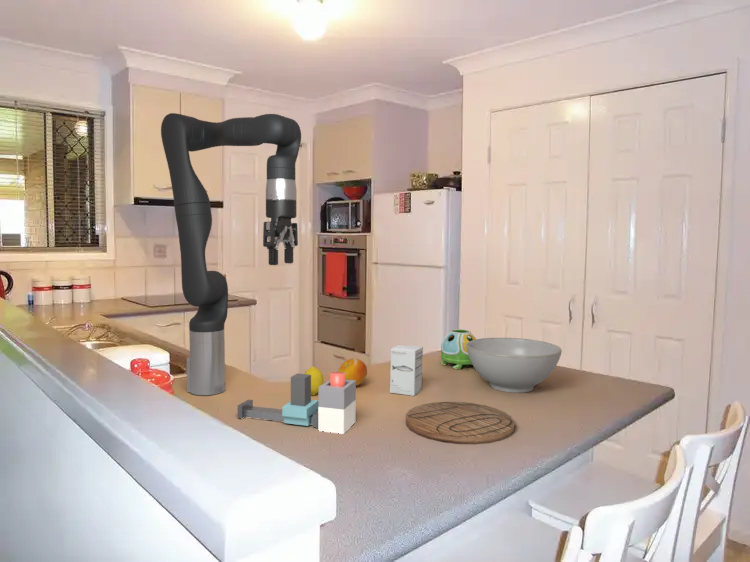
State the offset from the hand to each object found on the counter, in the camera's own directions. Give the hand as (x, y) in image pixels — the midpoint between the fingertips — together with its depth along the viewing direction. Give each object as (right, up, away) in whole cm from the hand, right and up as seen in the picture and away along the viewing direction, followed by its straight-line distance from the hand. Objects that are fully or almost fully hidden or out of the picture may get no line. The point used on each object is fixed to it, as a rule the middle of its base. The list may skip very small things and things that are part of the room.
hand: (281, 264), depth 139 cm
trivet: (+43, -38, -9) cm, 58 cm away
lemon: (+7, -36, +12) cm, 38 cm away
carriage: (+6, -37, -9) cm, 38 cm away
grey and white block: (+15, -37, -12) cm, 42 cm away
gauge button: (+15, -31, -13) cm, 37 cm away
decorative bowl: (+63, -35, +23) cm, 76 cm away
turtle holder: (+53, -33, +48) cm, 79 cm away
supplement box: (+32, -35, +17) cm, 51 cm away
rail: (+1, -37, -8) cm, 38 cm away
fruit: (+17, -35, +22) cm, 44 cm away
